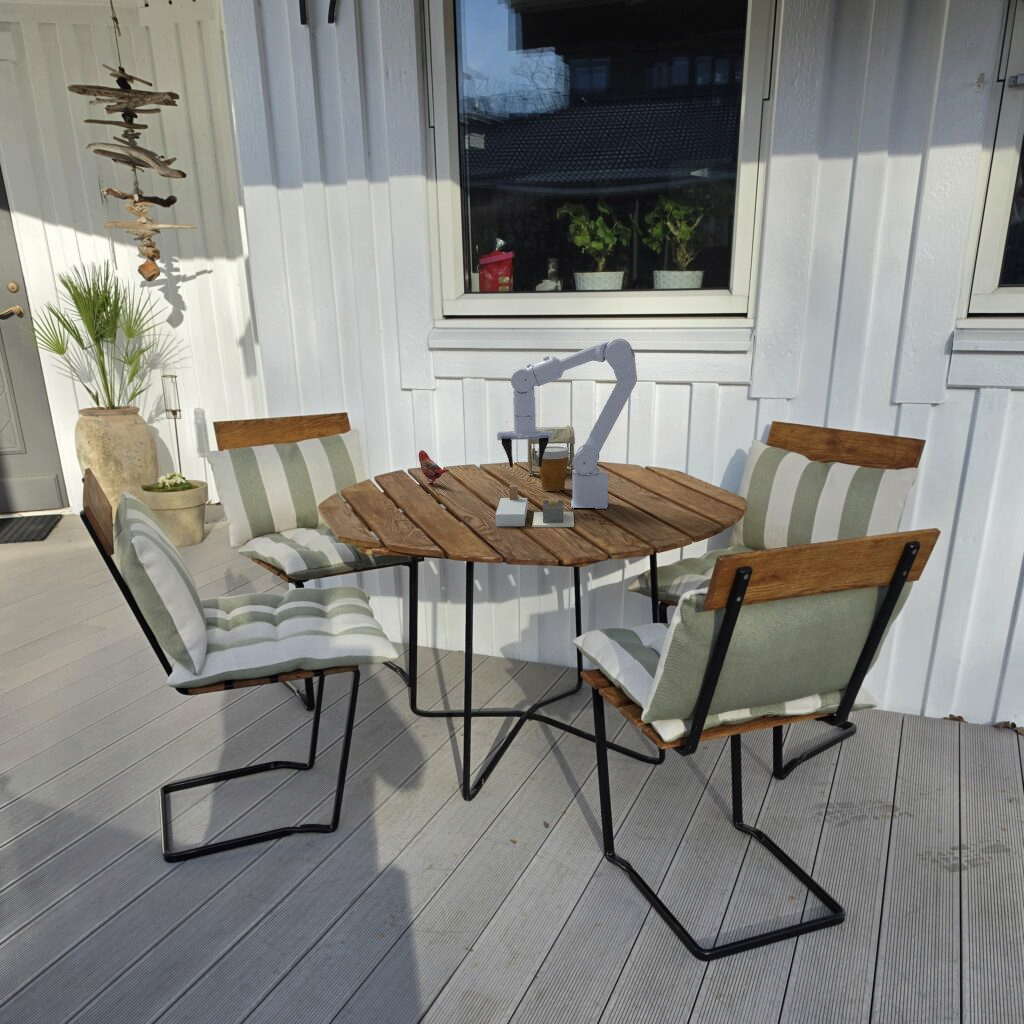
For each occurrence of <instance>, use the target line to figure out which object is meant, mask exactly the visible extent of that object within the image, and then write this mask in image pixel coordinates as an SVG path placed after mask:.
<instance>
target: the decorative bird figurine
mask: <svg viewBox="0 0 1024 1024" xmlns="http://www.w3.org/2000/svg"><path fill="white" fill-rule="evenodd" d="M418 461H419V465H420V468H421V472H422V474H423V475H424V476H425V477H426V478H427V479H429V481H428V482H430V483H434V485H436V483H435V481H436V480H437V479H439V478H441V477H442V475H443V473H447V472H449V471H450V469H449V468H447V469H443V468H441V467H440V466H439V465H438V464H437V463H436V462H435V461H434V460H432V459H431V458H430V457H429V455H428V453H427V452H426V451H425V450H424V449H423V450H422V449H421V450H420V451H419V452H418ZM430 480H431V481H430Z"/></svg>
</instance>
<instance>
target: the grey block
mask: <svg viewBox="0 0 1024 1024" xmlns="http://www.w3.org/2000/svg"><path fill="white" fill-rule="evenodd" d="M542 503H543V504H542V512H543V523H563V521H564V512H565V511H564V510H565V509H564V500H559V497H558V496H556V497H555V496H553V497H552V496H551V497H550V496H549V497H548V500H543V502H542Z"/></svg>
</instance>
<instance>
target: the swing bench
mask: <svg viewBox="0 0 1024 1024" xmlns="http://www.w3.org/2000/svg"><path fill="white" fill-rule="evenodd" d="M536 431H553V439H551V440H548V444H549V445H551V444H553V445H554V444H555V445H556V444H558V445H559V444H561V445H562V444H566V448H568V452H569V456H568V461H567V467H568V468H569V467H571V470H566V474H571V473H572V471H573V470H574V468H573V464H572V460H573V457H574V456H575V445H576V437H575V436H576V435H575V434H576V433H575V428H574V426H573V425H571V426H570V425H566V426H553V427H552V426H550V427H549V426H548V427H547V426H546V427H544V426H542V427H540V426H536ZM548 444H547V445H548ZM535 445H539V439H527V469H528V468H529V470H528V475H529V474H532V475H535V474H534V473H540V471H533V467H537V468H539V461H538V457H537V455H536V453H537V451H538V450H536V448H535ZM532 446H533V447H532Z"/></svg>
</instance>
